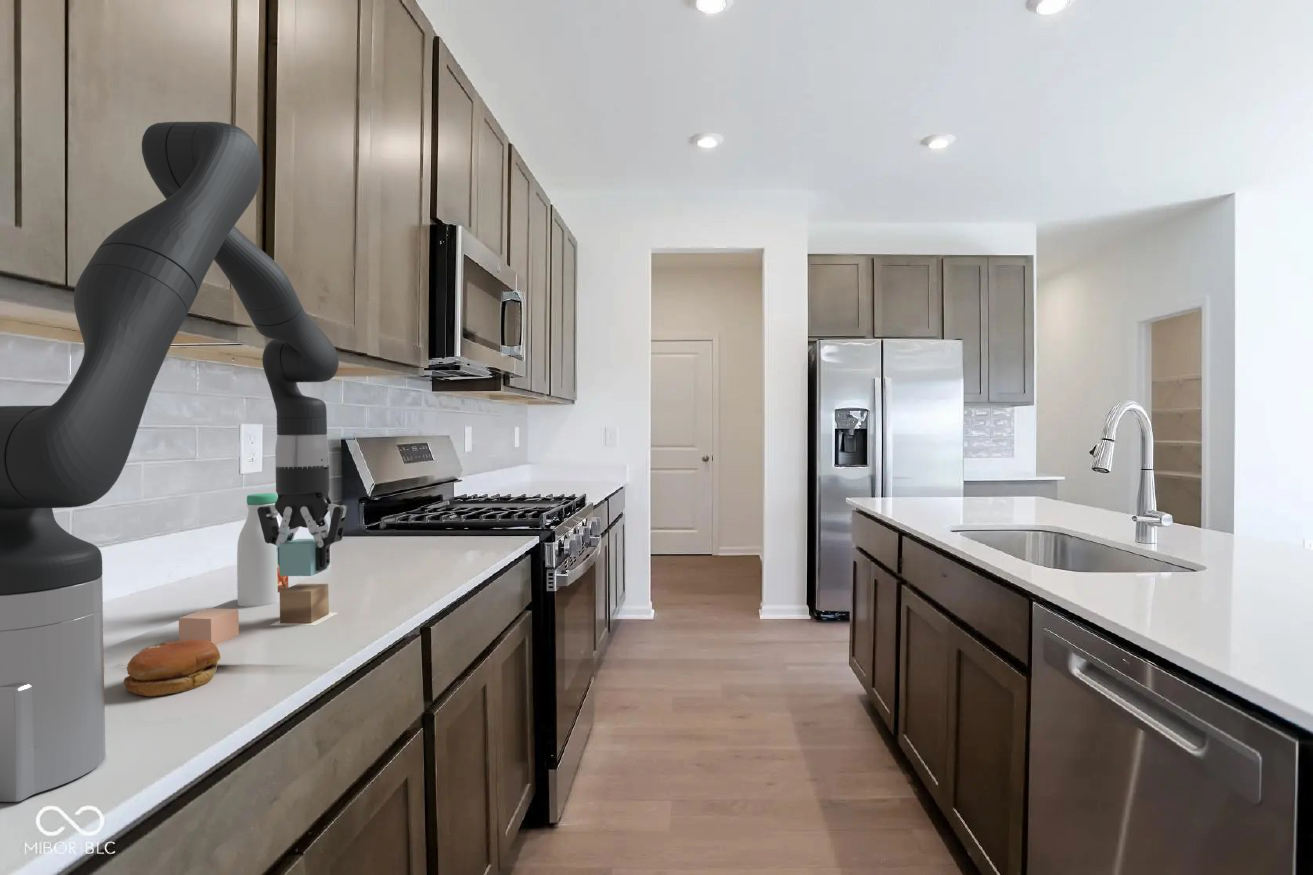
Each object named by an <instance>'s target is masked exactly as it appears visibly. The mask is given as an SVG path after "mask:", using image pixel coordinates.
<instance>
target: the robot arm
mask: <svg viewBox="0 0 1313 875" xmlns="http://www.w3.org/2000/svg"><path fill="white" fill-rule="evenodd" d="M141 155H142V157H143V161H144V165H145V168H146V170H147V171H148V173H149V175H150V178H151V179H152V181H153V182H154V185H155V186H156V187H157V188H158V190H159V192H160V193H161V194H162V196H163V197H164V198H165V200H163V201H161V202H160V203H158V204H156V205H155V206H152V207H151V208H149V209H147V210H145V211H144V212H142V213H140V214H139V215H137V216H135V217H133V218H132V219H130V220H129V221H127V222H125V223H124V224H122V225H121V226H119V227H118V228H116V230H114V231H112V233H110V234H109V235H108V236H106V238H105V239H104V240H103V241H102V242H101V244H100V245H99V247H98V248H97V249H96V250H95V252H94V254H93V256H92V257H91V259H90V260H89V261H88V263H87V265H86V267H85V268H84V269H83V272H82V273H81V274H80V276H79V278H78V280H77V282H76V285H75V286H74V291H73V307H74V312H75V317H76V321H77V325H78V327H79V331H80V335H81V338H82V340H83V345H84V346H83V347H84V349H83V350H84V352H83V356H82V359H81V362H80V364H79V367H78V369H77V371H76V372H75V375H74V377H73V379H72V380H71V382H70V383H69V385H68V387H67V388H66V389H65V391H64V392H63V394H62V395H61V396H60V398H59V399H58V400H56V401H55V402H54V403H53V404H51V405H0V802H7V803H8V802H10V803H12V802H14V803H17V802H18V803H19V802H22V801H24V800H26V799H27V798H29V797H30V796H33V795H35V794H38V793H42V792H45V791H47V790H51V789H54V788H57V787H60V786H62V785H64V784H68V783H70V782H72V781H74V780H76V779H79V778H80V777H82V776H84V775H87V774H88V773H89V772H92V771H93V770H94V769H96V768H98V767H99V766H100V765H101V764H102V763H103V762H104V760H105V758H106V757H107V756H106V719H105V718H106V715H105V714H106V713H105V712H106V711H105V709H106V707H105V706H106V704H105V667H104V665H105V664H104V662H105V661H104V655H105V654H104V652H105V651H104V615H103V614H104V610H103V607H104V606H103V604H104V602H103V599H104V598H103V556H102V554H103V553H102V551H101V550H100V548H99V547H98V546H97V545H95V544H93V543H91V542H88V541H86V540H83V539H80V538H78V537H76V536H74V535H73V534H70V532H68V531H66V530H65V529H64V528H62V527H61V525H60V524H59V523H58V522H57V521H56V519H55V516H54V515H55V514H54V511H53V509H67V508H68V509H69V508H77V507H78V508H79V507H83V506H88V505H91V504H92V503H95V502H97V501H98V500H100V499H101V498H103V497H104V496H105V495H107V494H108V493H109V491H110V490H111V489H112V488H113V486H114V485H115V484H116V483H117V481H118V479H119V478H120V475H121V474H122V472H123V470H124V467H125V465H126V463H127V460H128V458H129V456H130V452H131V450H132V446H133V443H134V441H135V438H136V435H137V432H138V429H139V426H140V423H141V420H142V417H143V414H144V411H145V408H146V405H147V402H148V399H149V397H150V394H151V391H152V388H153V386H154V384H155V381H156V378H157V376H158V375H159V372H160V370H161V369H162V368H161V367H162V366H163V363H164V361H165V358H167V357H166V356H167V354H168V352H169V350H170V347H171V345H172V344H173V342H174V339H175V337H176V336H177V334H178V332H179V330H180V329H181V326H182V325H183V324H184V322H185V319H186V318H187V316H188V314H189V312H190V311H191V310H190V309H191V308H192V305H193V304H194V302H195V299H196V298H197V295H198V293H199V291H200V289H201V286H202V283H203V281H204V279H205V277H206V276H207V272H208V271H209V269H210V267H211V266H212V264H213V262H215V263H216V264H217V266H218V267H219V268H220V270H221V271H222V273H223V274H224V275H225V276H226V278H227V279H228V282H229V283H230V284H231V286H232V287H233V289H234V291H235V293H236V294H237V296H238V298H239V300H240V302H241V303H242V305H243V307H244V309H245V311H246V312H247V315H248V316H249V318H250V320H251V321H252V323H253V325H254V327H255V329H256V330H257V331H258V332H259V333H260V334H261V335H262V336H264V337H265V338H269V339H272V340H270V341H269V342H268V343H267V344H266V346H265V348H264V350H263V351H262V352H263V353H262V357H261V358H262V360H261V361H262V367H263V371H264V374H265V378H266V380H267V382H268V385H269V389H270V392H271V396H272V399H273V403H274V405H275V410H276V411H275V412H276V442H275V449H274V450H275V451H274V453H275V456H274V457H275V458H274V459H275V460H274V461H275V492H276V494H277V501H276V503H275V504H274V505H268V506H262V507H259V508H258V509H257V512H258V516H259V520H260V524H261V527H262V531H263V535H264V539H265V542H266V543H268V544H269V543H271V544H274V545H276V546H277V547H278V565H279V544H281V543H285V542H288V541H292V540H295V535H296V533H297V532H298V531H299V528H300V527H301V528H306V529H308V532H309V534H310V535H311V536H312V537H313V538H312V539H314V540H315V543H316V545H317V547H318V548H315V553H316V571H322V570H325V569H326V568H327V566H328V567H329V566H330V564H331V545H332V544H335V543H337V542H340V541H342V540H343V537H344V532H345V528H346V523H347V518H348V515H349V510H350V508H349V506H348V505H347V504H342V505H339V504H336V503H333V502H332V500H331V499H330V497H329V493H330V487H331V486H330V447H329V443H328V442H329V441H328V435H327V434H328V419H327V418H328V416H327V415H328V414H327V406H326V403H325V402H324V401H323V400H321V399H319V398H316V397H311V396H307V395H303V394H302V393H301V390H300V389H299V387H298V383H323V382H328V381H330V380H332V378H334V377H335V375H336V374H337V372H338V369H339V364H340V362H339V355H338V352H337V349H336V348H335V345H334V344H333V343H332V341H331V340H330V338H329V337H328V336H327V335H326V333H325V332H324V331H323V330H322V329H321V327H319V326H318V324H316V322H315V321H314V320H313V319H312V318H311V317H310V316H309V315H308V314H307V312H306V311H305V309H304V308H303V306H302V304H301V301H300V299H299V297H298V295H297V293H296V290H295V288H294V286H293V284H292V282H291V280H290V279H289V278H290V277H288V276H287V274H286V273H285V271H284V270H283V269H282V268H281V267H280V265H279V264H278V263H277V262H276V261H275V260H273V258H272V257H271V256H269V255H268V254H267V253H266V252H265V251H263V249H261V248H260V247H259V246H257V245H256V244H255V243H254V242H252V241H251V240H250V239H249V238H248V237H247V236H246V235H245V234H243V233H242V232H241V231H240V229H239V228H237V227H236V226H235V225H236V224H237V222H238V221H239V220H240V218H241V217H242V216H243V214H244V213H245V211H246V210H247V209H248V207H249V205H251V202H252V201H253V199H255V196H256V195H257V193H258V190H259V187H260V183H261V180H262V171H263V168H262V167H263V164H262V157H261V154H260V150H259V148H258V145H257V143H256V142H255V141H254V139H253V138H252V136H251V135H250V134H249V133H248V132H246V130H244V129H243V128H240V127H239V126H237V125H234V124H230V123H226V122H220V121H165V122H157V123H154V124H152V125H150V126H148V127H147V128H146V130H145V132H144V133H143V136H142V139H141ZM328 513H329V516H330V518H331V520H330V524H328V522H327V520H326V515H327V514H328ZM278 515H279V516H280V517H281V521H280V523H281V524H280V527H279V525H278V521H277V516H278ZM325 571H326V570H325Z"/></svg>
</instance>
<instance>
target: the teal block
mask: <svg viewBox="0 0 1313 875" xmlns="http://www.w3.org/2000/svg"><path fill="white" fill-rule="evenodd" d="M315 548H318V547H317V545H316V543H315V540H314V538H296V539H295V538H294V539H293V540H292V541H288V542H285V543H281V544H279V571H280V576H288V577H312V576H315V575H317V574H319V573H322V572H325V571H327V570H329V565H328V566H327V568H326V569H325V570H322V571H316V553H315Z"/></svg>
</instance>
